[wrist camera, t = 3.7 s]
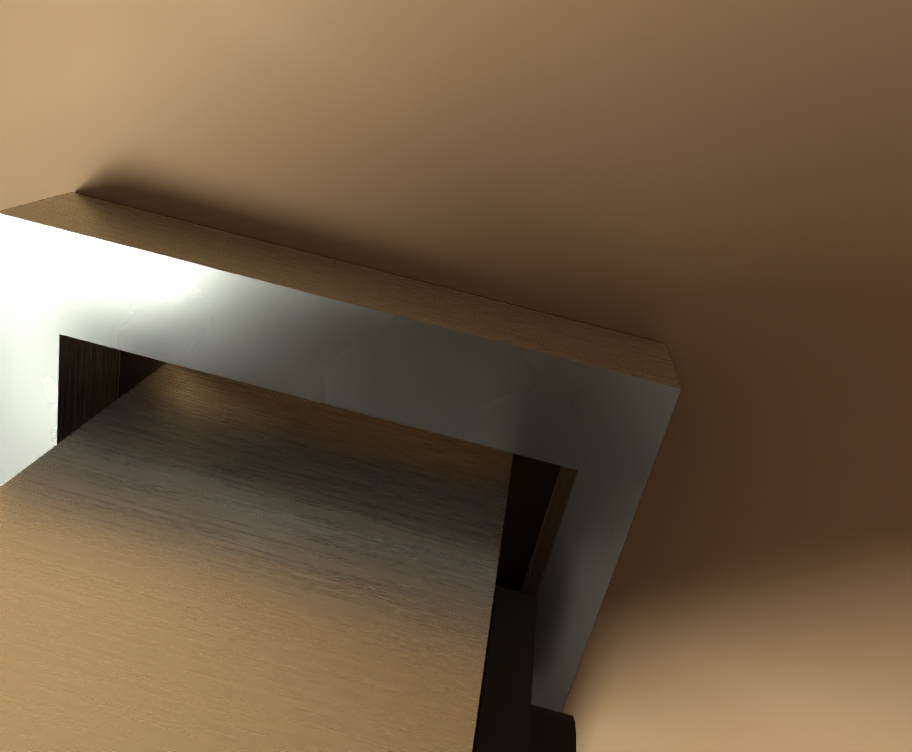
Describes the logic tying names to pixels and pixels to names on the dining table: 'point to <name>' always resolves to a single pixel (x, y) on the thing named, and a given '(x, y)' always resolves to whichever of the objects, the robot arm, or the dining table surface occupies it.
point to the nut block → (246, 578)
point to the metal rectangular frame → (339, 370)
